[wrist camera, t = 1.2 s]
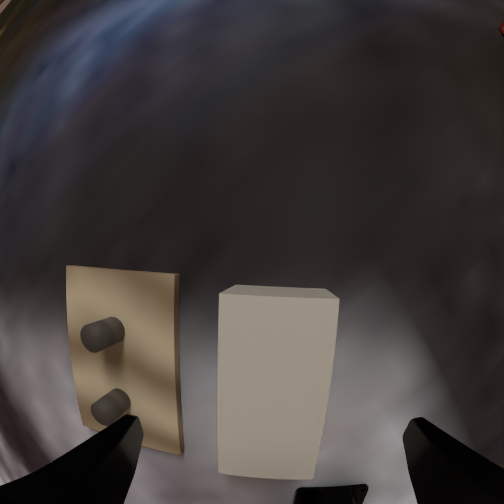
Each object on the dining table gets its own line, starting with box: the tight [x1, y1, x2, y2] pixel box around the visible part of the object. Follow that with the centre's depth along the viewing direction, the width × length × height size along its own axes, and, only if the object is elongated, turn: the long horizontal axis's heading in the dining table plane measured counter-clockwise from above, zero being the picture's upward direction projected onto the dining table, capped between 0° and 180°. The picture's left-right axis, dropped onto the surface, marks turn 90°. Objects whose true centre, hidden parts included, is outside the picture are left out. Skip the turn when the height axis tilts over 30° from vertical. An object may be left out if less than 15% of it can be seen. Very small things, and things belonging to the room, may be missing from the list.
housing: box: [217, 285, 339, 480], centre depth 17 cm, size 12×6×5 cm, turn 178°
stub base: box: [66, 266, 184, 455], centre depth 18 cm, size 15×10×4 cm, turn 177°
